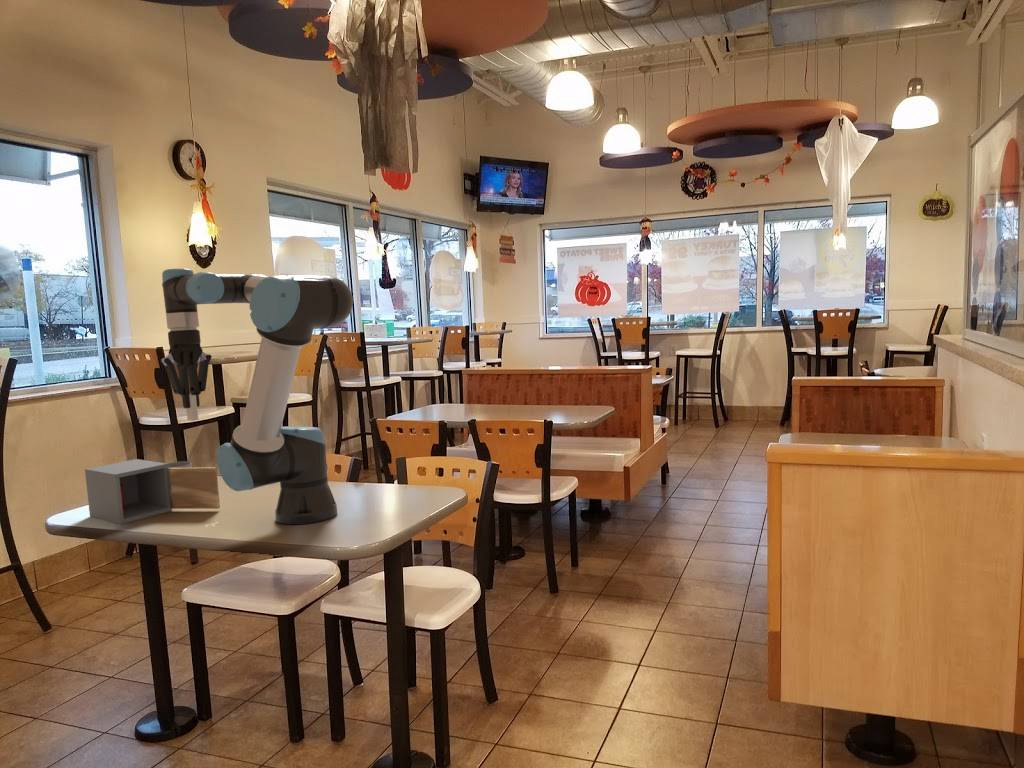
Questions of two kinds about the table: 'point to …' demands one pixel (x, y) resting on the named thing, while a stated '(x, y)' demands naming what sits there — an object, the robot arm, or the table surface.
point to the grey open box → (128, 490)
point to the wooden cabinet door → (193, 488)
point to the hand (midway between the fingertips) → (192, 419)
